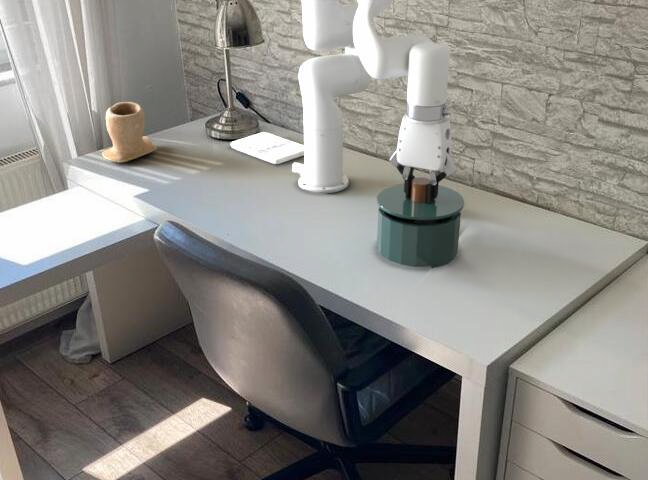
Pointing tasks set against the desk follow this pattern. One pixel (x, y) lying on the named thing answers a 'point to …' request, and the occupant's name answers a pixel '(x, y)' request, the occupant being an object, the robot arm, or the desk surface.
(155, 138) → the desk surface
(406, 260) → the canister
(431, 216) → the lid
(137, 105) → the stone cup
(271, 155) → the white flat block
